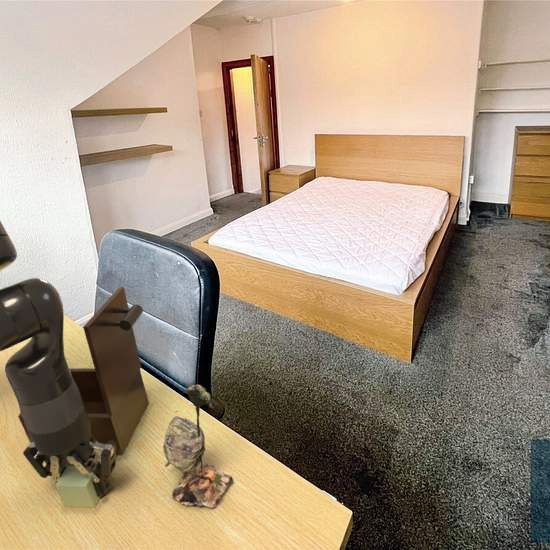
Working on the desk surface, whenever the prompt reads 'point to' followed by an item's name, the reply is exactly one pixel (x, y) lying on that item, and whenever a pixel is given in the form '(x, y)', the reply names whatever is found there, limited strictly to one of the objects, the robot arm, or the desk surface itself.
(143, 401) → the chest
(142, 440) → the desk surface
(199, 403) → the plant with pod
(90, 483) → the block
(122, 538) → the desk surface
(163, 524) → the desk surface
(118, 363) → the lid
